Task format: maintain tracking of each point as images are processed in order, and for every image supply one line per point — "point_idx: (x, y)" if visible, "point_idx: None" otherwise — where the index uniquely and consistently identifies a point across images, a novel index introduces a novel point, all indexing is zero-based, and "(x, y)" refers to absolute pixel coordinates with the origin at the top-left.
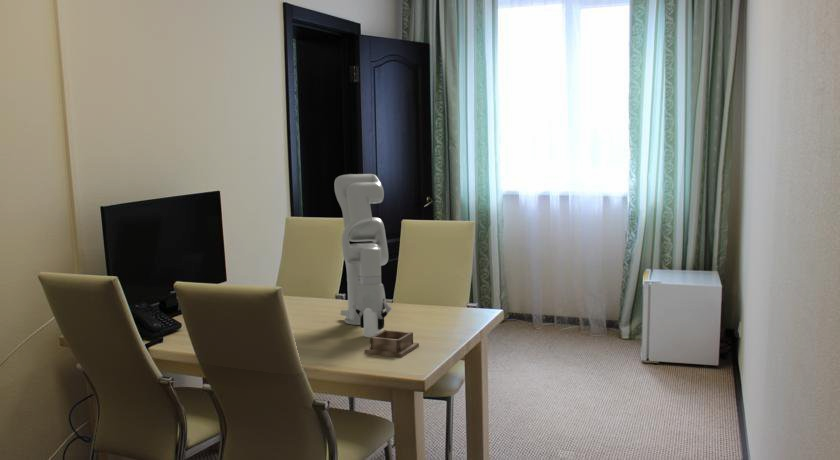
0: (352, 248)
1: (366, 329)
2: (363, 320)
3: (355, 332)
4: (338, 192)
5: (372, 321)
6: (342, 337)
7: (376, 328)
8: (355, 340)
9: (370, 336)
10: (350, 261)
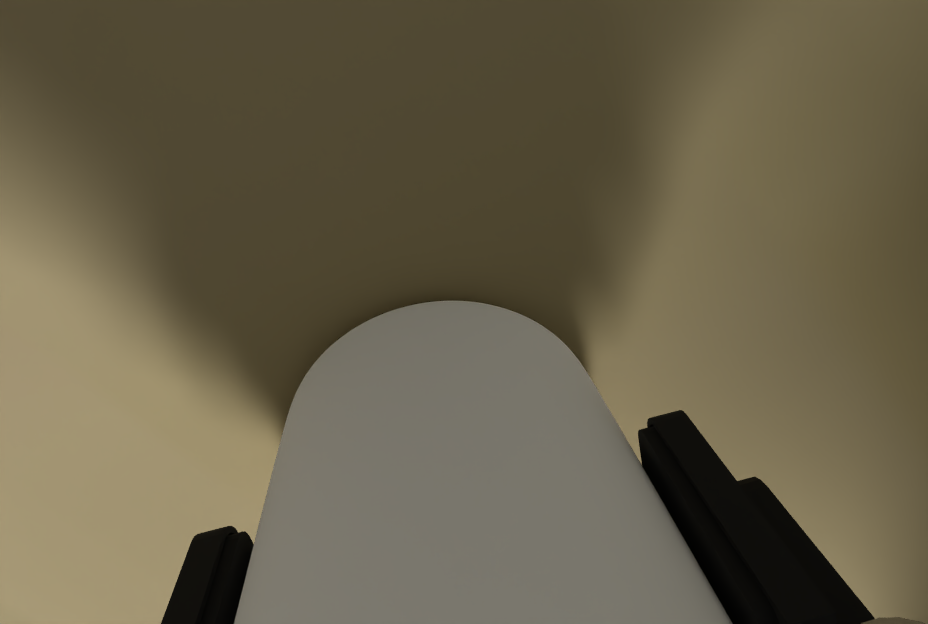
0: None
1: (466, 372)
2: (683, 558)
3: (835, 420)
4: None
5: (279, 604)
6: (902, 37)
7: (262, 514)
8: (514, 5)
9: (364, 324)
10: None
